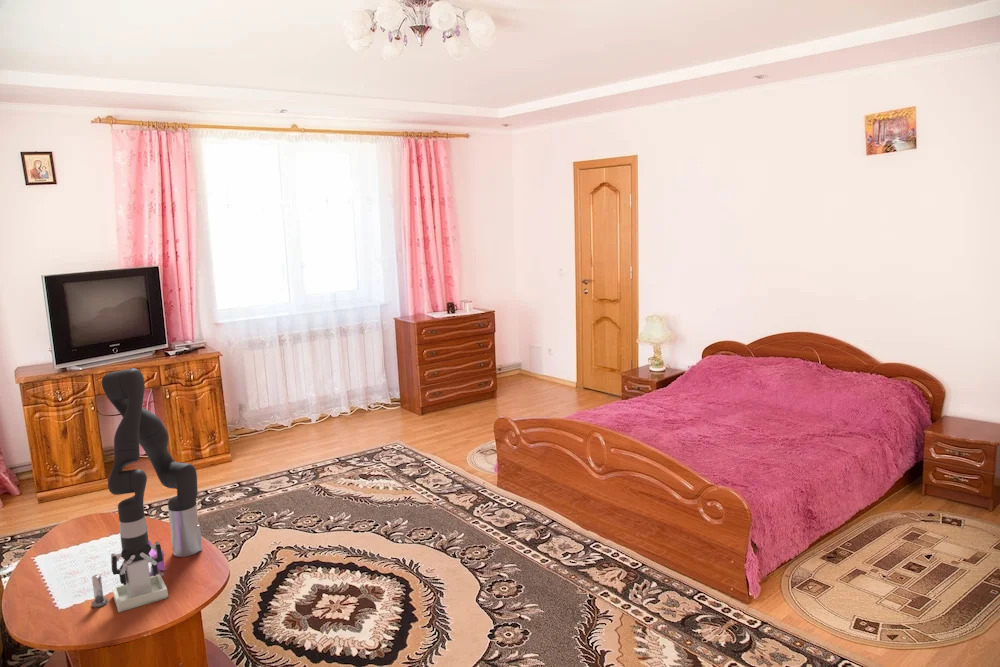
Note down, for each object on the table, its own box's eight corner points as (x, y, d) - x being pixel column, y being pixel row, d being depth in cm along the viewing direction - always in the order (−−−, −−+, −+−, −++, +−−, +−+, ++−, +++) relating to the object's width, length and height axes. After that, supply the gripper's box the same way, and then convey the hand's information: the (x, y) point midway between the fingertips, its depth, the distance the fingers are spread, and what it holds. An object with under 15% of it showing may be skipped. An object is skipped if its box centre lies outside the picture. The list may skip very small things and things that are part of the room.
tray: (160, 582, 231) (159, 573, 231) (168, 597, 221) (167, 588, 221) (113, 596, 223) (112, 587, 223) (118, 612, 213) (117, 603, 213)
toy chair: (169, 569, 240) (164, 528, 237) (148, 582, 231) (144, 540, 229) (150, 566, 242) (145, 525, 240) (129, 578, 234) (124, 536, 232)
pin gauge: (106, 598, 222) (103, 571, 220) (108, 604, 218) (105, 577, 217) (90, 603, 219) (87, 575, 218) (92, 609, 216) (89, 581, 214)
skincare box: (147, 589, 226) (143, 554, 224) (152, 593, 223) (148, 558, 221) (126, 596, 221) (122, 561, 219) (132, 601, 218) (128, 565, 216)
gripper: (156, 521, 226) (161, 568, 229) (106, 534, 218) (112, 582, 220) (160, 529, 220) (166, 577, 223) (109, 542, 212) (116, 592, 214)
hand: (139, 579), depth 221 cm, fingers open, 8 cm apart
